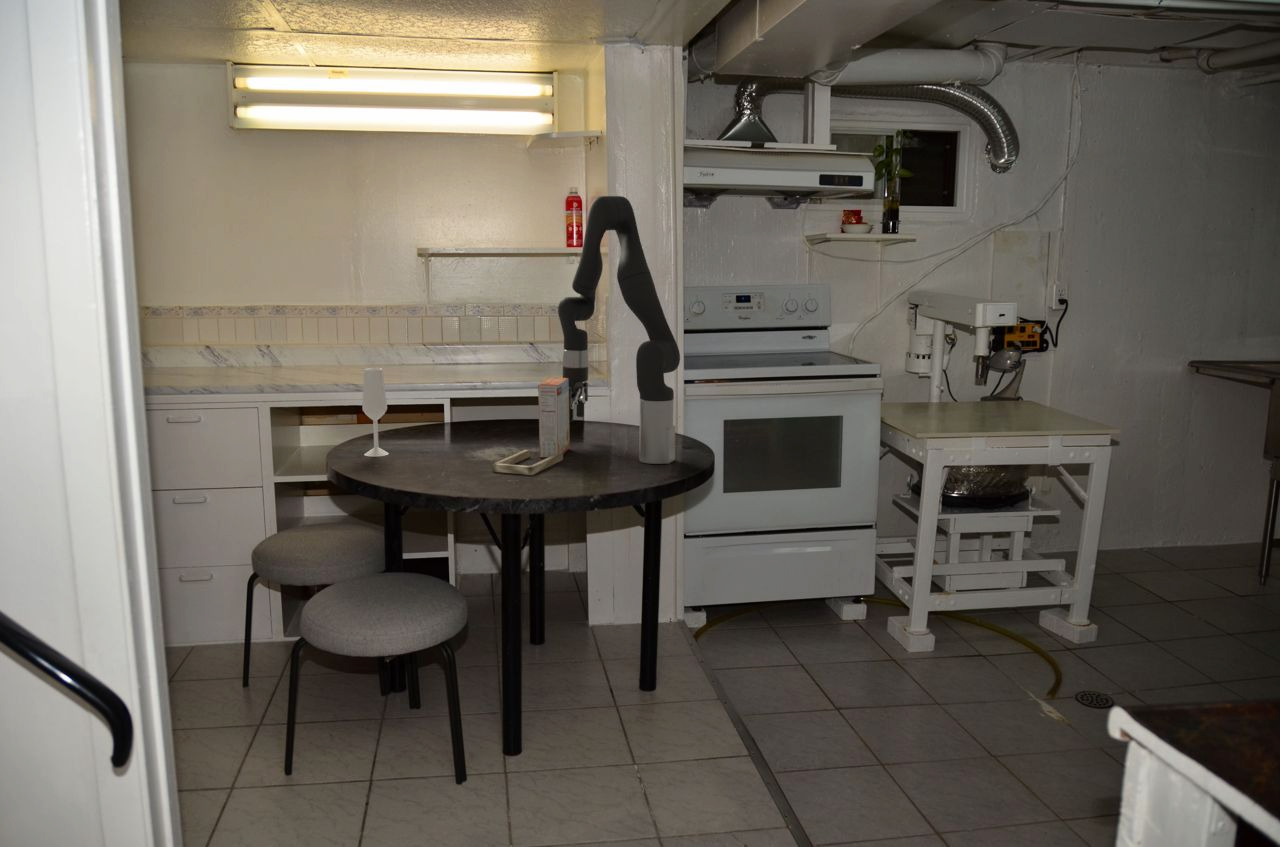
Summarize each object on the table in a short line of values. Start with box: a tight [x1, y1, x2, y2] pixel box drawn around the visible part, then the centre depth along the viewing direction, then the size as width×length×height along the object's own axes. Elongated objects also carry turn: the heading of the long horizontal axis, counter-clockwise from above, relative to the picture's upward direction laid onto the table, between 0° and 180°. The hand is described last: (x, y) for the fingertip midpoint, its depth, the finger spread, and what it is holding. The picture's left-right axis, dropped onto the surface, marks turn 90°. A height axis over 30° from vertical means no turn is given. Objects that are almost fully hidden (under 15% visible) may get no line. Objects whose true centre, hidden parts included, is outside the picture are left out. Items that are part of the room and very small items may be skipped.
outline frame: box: [491, 449, 564, 476], centre depth 263 cm, size 11×20×2 cm, turn 161°
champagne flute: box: [361, 367, 389, 457], centre depth 274 cm, size 7×7×24 cm
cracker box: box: [537, 377, 570, 459], centre depth 277 cm, size 14×6×21 cm, turn 171°
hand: (574, 419), depth 293 cm, fingers open, 8 cm apart
